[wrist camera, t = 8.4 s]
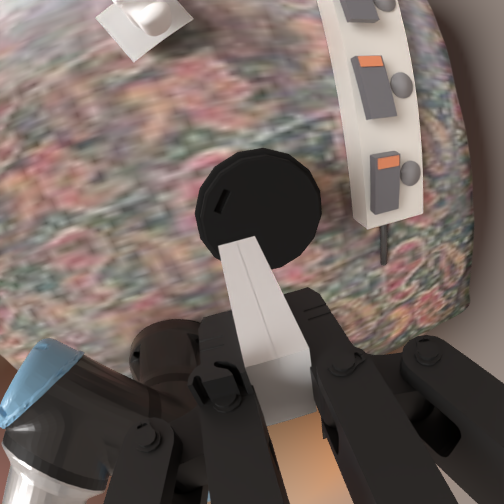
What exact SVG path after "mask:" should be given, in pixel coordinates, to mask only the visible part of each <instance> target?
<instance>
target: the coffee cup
mask: <svg viewBox="0 0 504 504" xmlns="http://www.w3.org/2000/svg"><path fill="white" fill-rule="evenodd" d="M321 215H322V211H321V197H320V190H319V188H318V186H317V184H316V182H315V180H314V178H313V176H312V174H311V173H310V171H309V170H308V169H307V168H306V167H305V166H303V165H302V164H301V163H300V162H298V161H297V160H296V159H294V158H293V157H292V156H291V155H289V154H286V153H282V152H278V151H274V150H270V149H266V148H260V149H254V150H248V151H242V152H237V153H236V154H234V155H232V156H231V157H229V158H228V159H226V160H224V161H223V162H221V163H220V164H218V165H217V166H215V167H214V169H213V170H212V171H211V173H210V174H209V176H208V177H207V179H206V180H205V181H204V183H203V184H202V186H201V187H200V190H199V195H198V200H197V205H196V210H195V217H196V221H197V226H198V230H199V234H200V239H201V240H202V241H203V243H204V244H205V245H206V247H207V248H208V249H209V251H210V252H211V253H212V255H213V256H214V257H215V258H217V259H219V260H220V261H221V258H220V253H219V248H218V246H220V245H223V244H227V243H231V242H234V241H238V240H242V239H246V238H249V237H253V236H255V238H256V240H257V242H258V244H259V246H260V248H261V250H262V252H263V254H264V256H265V258H266V260H267V262H268V264H269V266H270V268H271V269H275V268H280V267H282V266H284V265H286V264H287V263H289V262H290V261H292V260H294V259H295V258H297V257H298V256H300V255H301V254H302V252H303V251H304V250H305V249H306V247H307V246H308V245H309V244H310V242H311V241H312V240H313V239H314V237H315V233H316V230H317V227H318V224H319V221H320V218H321Z"/></svg>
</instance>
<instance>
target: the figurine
mask: <svg viewBox="0 0 504 504" xmlns="http://www.w3.org/2000/svg"><path fill="white" fill-rule="evenodd" d="M112 1H113V2H114V3H113V4H112V5H111V6H109V7H108V8H107V9H105V10H104V11H103V12H102V13H100V14H99V15H98V16H97V17H95V18H96V19H97V20H98V22H99V23H100V24H101V25H102V26H103V27H104V28H105V30H106V31H107V32H108V33H109V34H110V35H111V37H112V38H113V39H114V40H115V41H116V42H117V43H118V45H119V46H120V47H121V48H122V49H123V50H124V52H125V53H126V54H127V55H128V56H129V57H130V59H131V60H132V61H133V62H135V61H136V60H137V59H139V58H140V57H141V56H143V55H144V54H145V53H146V52H148V51H149V50H150V49H152V48H153V47H154V46H156V45H157V44H158V43H160V42H161V41H162V40H164V39H165V38H167V37H168V36H169V35H171V34H172V33H174V32H175V31H177V30H178V29H180V28H181V27H183V26H184V25H186V24H187V23H189V22H190V21H192V20H193V18H192V16H191V15H190V14H189V13H188V12H187V11H186V10H185V9H184V7H183V6H182V5H181V4H180V3H179V2H178V1H177V0H112Z"/></svg>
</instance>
